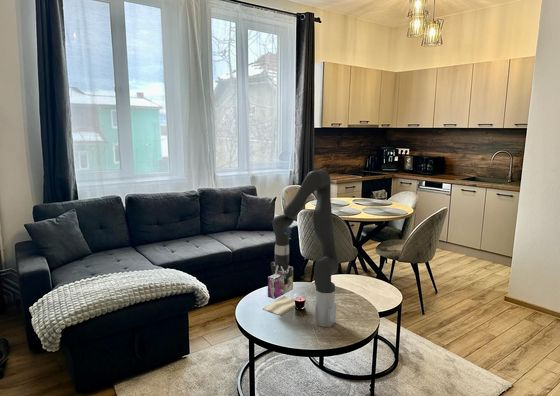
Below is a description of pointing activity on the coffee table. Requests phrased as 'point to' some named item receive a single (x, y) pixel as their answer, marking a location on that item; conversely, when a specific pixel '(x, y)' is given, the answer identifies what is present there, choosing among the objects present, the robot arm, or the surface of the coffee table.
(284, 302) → the beige board
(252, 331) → the coffee table surface
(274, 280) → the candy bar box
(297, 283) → the coffee table surface
